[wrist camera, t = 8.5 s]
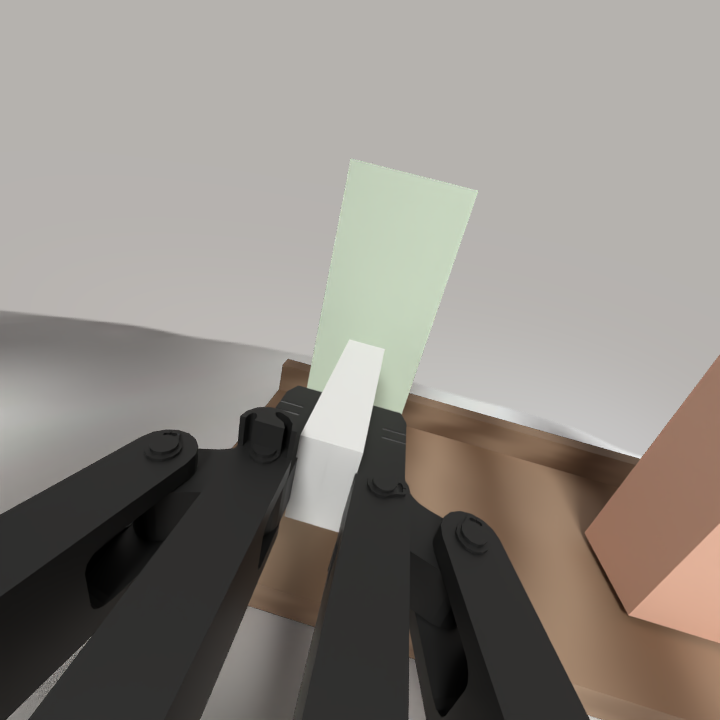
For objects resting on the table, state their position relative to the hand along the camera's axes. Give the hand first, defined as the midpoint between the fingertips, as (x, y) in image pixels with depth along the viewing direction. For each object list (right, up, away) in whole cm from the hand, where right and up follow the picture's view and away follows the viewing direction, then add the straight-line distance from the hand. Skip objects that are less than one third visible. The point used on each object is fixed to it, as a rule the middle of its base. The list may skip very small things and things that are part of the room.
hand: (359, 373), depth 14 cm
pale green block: (-1, -4, +6) cm, 8 cm away
